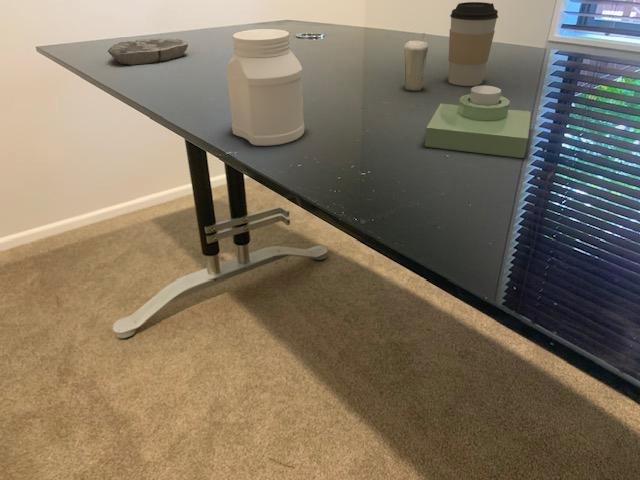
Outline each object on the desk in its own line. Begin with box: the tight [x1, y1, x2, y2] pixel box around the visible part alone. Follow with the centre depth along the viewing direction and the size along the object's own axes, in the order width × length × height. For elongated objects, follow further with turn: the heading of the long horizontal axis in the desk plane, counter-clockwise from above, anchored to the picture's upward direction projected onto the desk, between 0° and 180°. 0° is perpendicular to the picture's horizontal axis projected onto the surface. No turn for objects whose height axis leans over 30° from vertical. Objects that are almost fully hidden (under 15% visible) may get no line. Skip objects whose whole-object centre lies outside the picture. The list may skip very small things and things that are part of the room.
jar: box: [225, 28, 305, 147], centre depth 77 cm, size 12×10×15 cm
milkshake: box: [403, 32, 430, 92], centre depth 98 cm, size 4×5×10 cm
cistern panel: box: [424, 93, 532, 159], centre depth 76 cm, size 14×13×5 cm
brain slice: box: [107, 38, 189, 66], centre depth 129 cm, size 20×17×3 cm
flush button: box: [469, 85, 502, 106], centre depth 77 cm, size 4×4×2 cm
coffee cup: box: [448, 1, 499, 87], centre depth 101 cm, size 9×9×15 cm
